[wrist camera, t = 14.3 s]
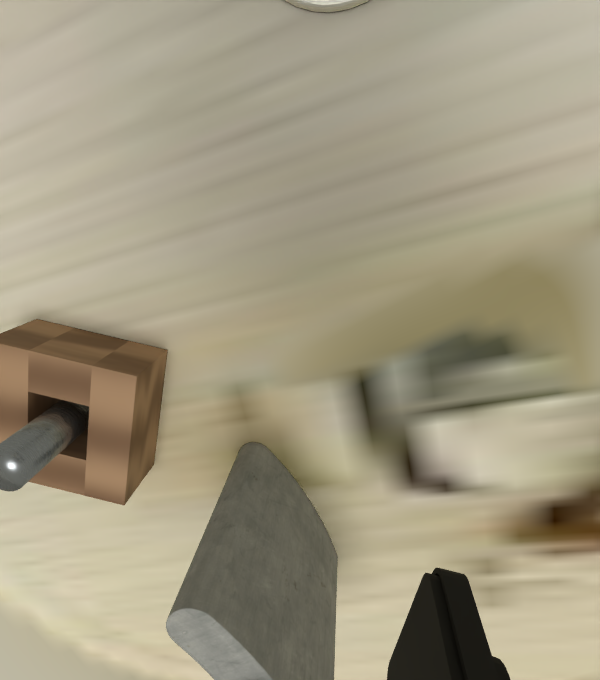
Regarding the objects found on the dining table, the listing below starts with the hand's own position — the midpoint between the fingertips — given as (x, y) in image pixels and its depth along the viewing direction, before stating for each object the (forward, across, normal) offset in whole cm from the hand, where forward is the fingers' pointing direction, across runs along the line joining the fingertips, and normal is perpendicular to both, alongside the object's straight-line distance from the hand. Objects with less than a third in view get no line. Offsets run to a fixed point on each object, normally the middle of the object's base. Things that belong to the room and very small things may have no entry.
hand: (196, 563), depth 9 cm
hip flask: (+29, -3, +21) cm, 36 cm away
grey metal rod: (+28, +17, +14) cm, 36 cm away
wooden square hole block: (+28, +17, +14) cm, 36 cm away
